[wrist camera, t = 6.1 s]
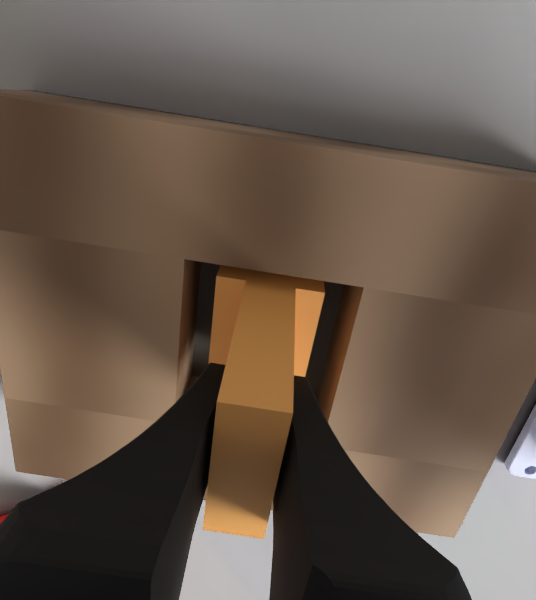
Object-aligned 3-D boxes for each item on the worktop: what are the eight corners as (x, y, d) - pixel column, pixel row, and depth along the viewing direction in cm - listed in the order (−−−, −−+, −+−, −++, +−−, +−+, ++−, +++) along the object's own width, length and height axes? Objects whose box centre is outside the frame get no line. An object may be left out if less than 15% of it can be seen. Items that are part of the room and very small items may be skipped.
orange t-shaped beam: (221, 262, 15) (171, 394, 9) (323, 278, 15) (338, 420, 9) (211, 366, 17) (166, 524, 11) (300, 380, 17) (299, 543, 11)
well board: (556, 175, 15) (628, 197, 11) (430, 470, 21) (454, 537, 18) (31, 90, 14) (-43, 89, 11) (58, 413, 21) (16, 471, 17)
